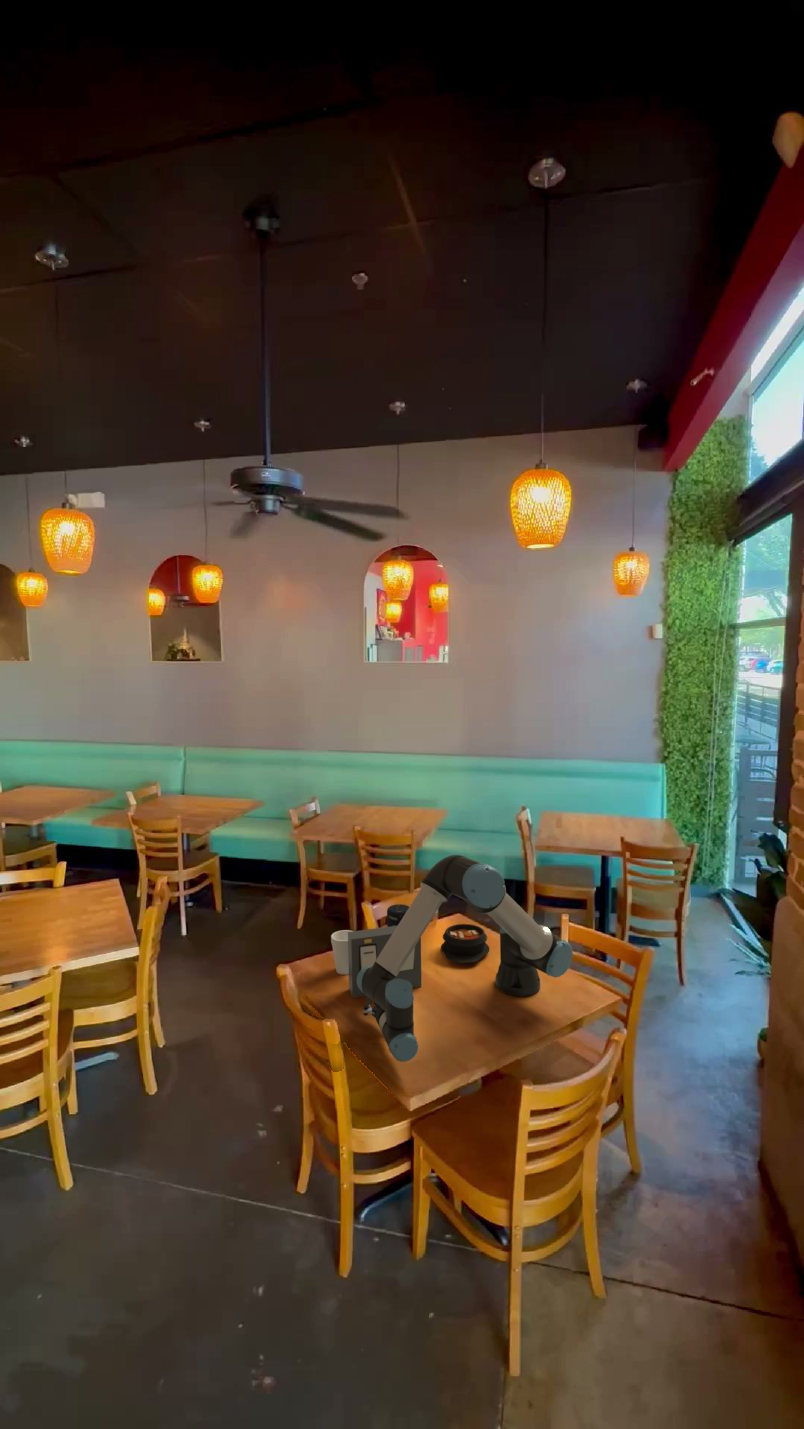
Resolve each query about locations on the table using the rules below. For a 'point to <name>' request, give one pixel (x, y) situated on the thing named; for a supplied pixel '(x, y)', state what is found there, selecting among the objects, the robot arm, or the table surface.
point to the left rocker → (367, 955)
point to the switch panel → (379, 940)
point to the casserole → (464, 943)
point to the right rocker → (409, 962)
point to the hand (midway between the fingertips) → (371, 982)
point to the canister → (396, 914)
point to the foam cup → (341, 951)
